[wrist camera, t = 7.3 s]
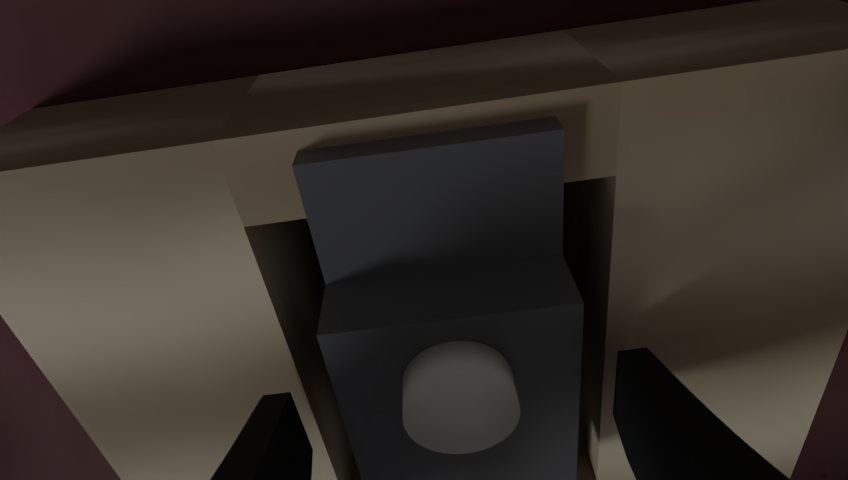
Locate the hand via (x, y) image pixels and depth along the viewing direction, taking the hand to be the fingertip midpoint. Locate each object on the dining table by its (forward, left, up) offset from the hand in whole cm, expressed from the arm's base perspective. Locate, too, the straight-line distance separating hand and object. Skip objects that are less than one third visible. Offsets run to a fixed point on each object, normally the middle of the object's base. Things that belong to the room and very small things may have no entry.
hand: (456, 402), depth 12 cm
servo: (0, 0, -5) cm, 5 cm away
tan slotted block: (0, 0, -5) cm, 5 cm away
